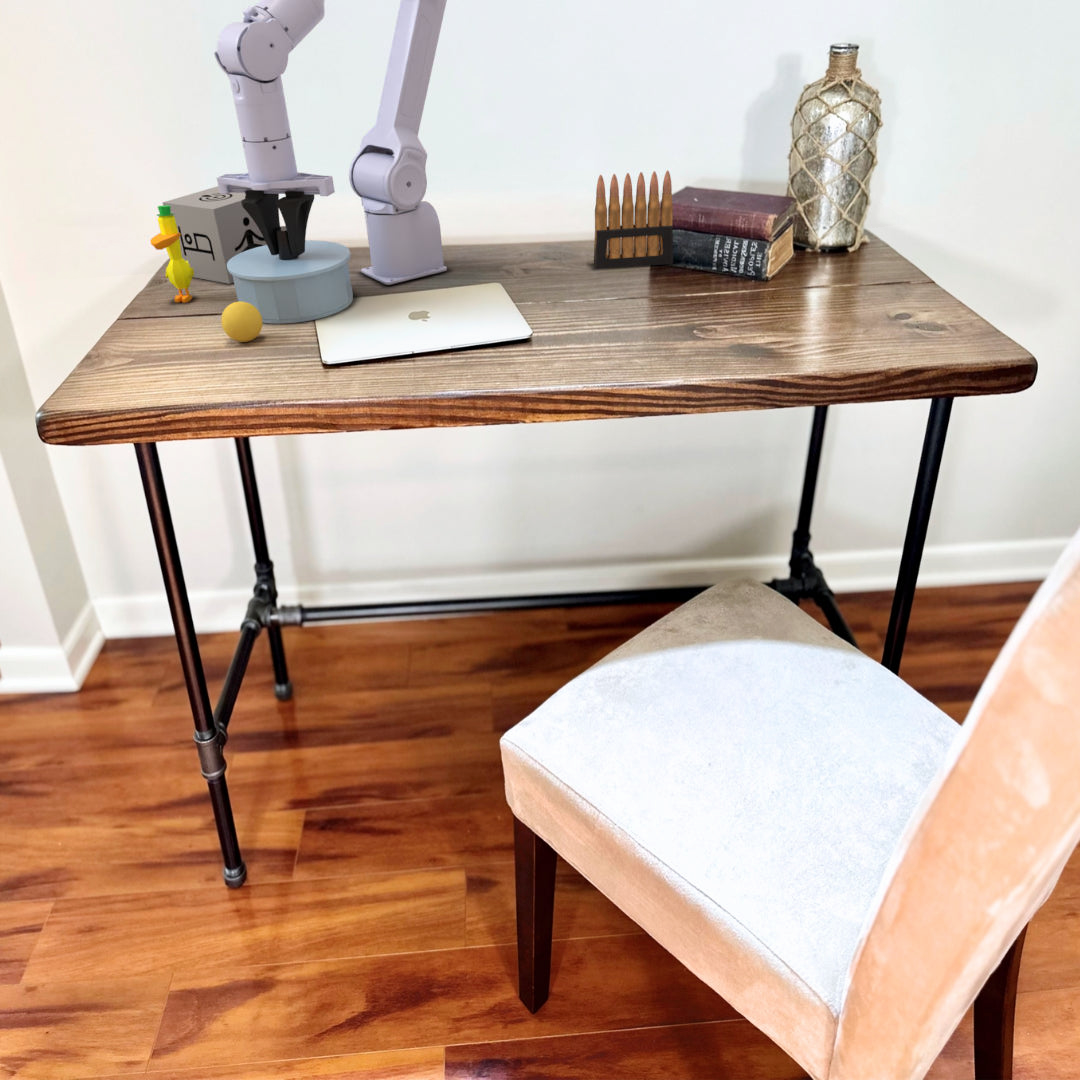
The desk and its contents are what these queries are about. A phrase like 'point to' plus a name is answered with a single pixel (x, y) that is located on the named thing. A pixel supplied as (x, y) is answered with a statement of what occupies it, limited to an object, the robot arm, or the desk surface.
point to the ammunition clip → (633, 225)
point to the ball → (241, 321)
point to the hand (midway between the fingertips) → (288, 253)
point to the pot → (298, 296)
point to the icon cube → (213, 231)
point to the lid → (288, 260)
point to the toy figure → (173, 253)
